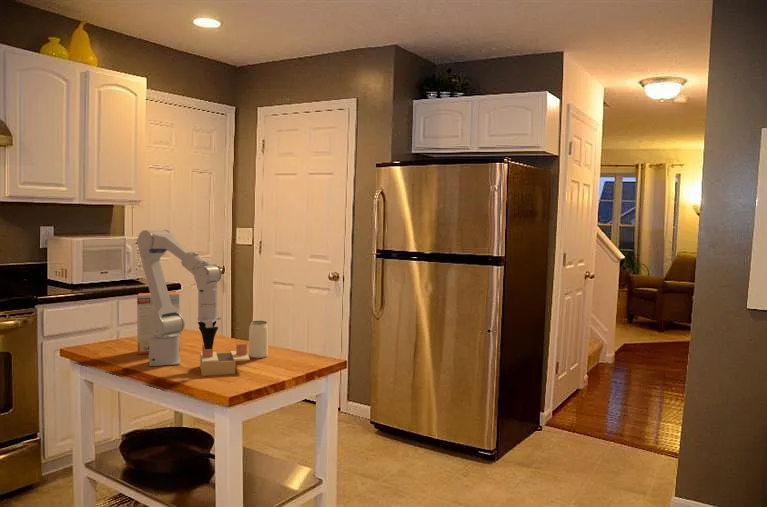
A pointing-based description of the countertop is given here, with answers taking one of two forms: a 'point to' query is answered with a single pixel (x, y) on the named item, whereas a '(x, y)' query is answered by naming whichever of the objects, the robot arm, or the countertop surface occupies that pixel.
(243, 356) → the right flap
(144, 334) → the cracker box
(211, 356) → the left flap
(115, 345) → the countertop surface
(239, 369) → the countertop surface
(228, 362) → the carton
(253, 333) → the can
